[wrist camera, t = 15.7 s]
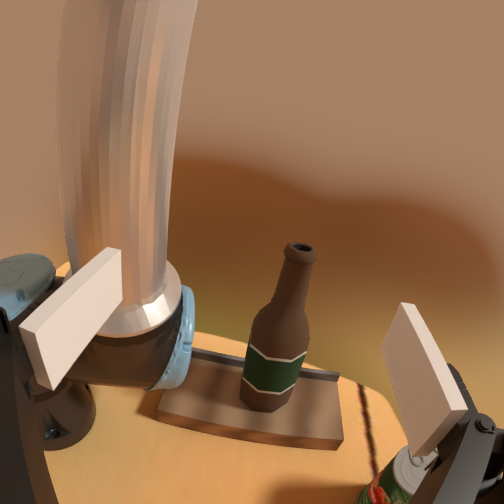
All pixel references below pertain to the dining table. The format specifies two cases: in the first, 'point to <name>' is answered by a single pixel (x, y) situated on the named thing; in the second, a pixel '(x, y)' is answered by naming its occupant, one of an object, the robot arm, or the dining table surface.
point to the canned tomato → (397, 479)
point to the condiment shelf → (242, 416)
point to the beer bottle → (279, 336)
